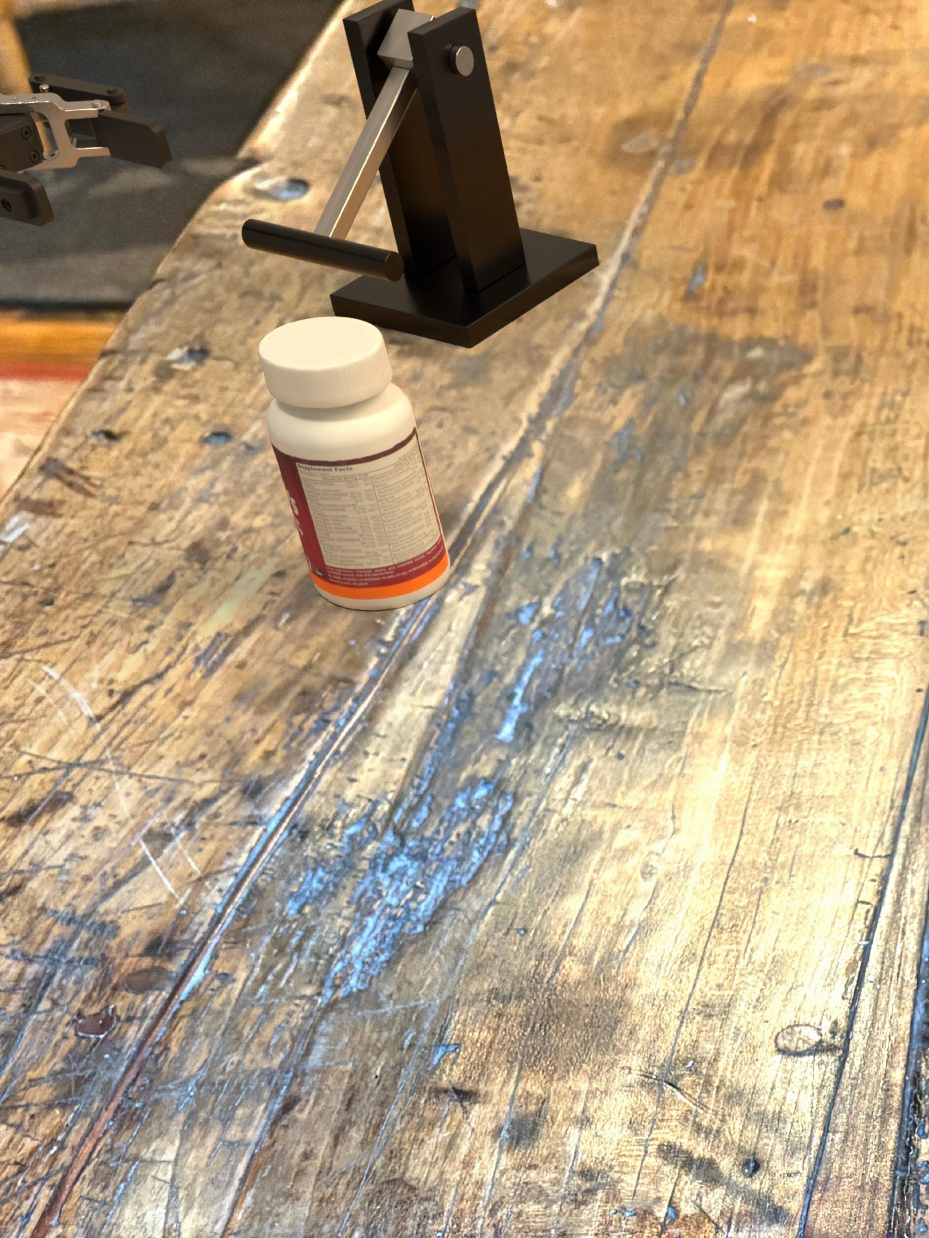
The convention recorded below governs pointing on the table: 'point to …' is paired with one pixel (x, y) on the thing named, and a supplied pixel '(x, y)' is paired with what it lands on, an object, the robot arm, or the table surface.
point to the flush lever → (355, 175)
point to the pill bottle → (352, 465)
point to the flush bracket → (450, 194)
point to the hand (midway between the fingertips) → (105, 173)
